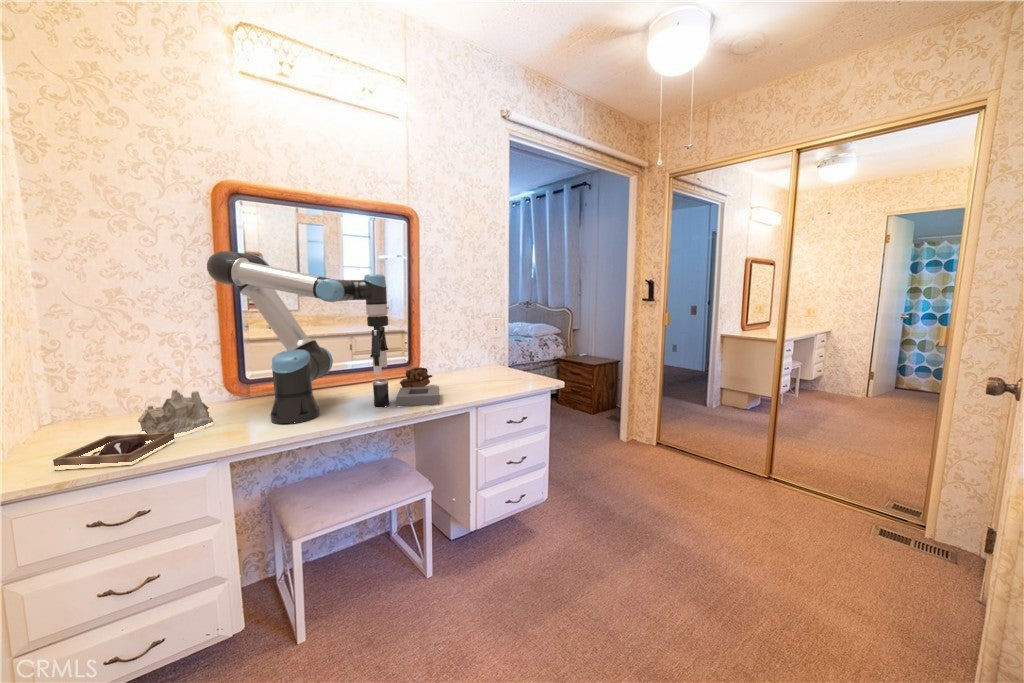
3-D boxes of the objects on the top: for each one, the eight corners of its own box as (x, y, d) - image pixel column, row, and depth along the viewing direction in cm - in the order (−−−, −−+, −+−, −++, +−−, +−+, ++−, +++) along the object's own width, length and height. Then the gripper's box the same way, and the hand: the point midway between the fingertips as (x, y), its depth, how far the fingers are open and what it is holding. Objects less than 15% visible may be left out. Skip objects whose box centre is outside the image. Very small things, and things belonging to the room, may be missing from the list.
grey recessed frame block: (396, 407, 148) (396, 397, 148) (400, 397, 162) (400, 387, 162) (438, 404, 151) (438, 395, 150) (439, 395, 165) (439, 386, 164)
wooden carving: (405, 393, 167) (404, 371, 166) (399, 392, 170) (398, 370, 168) (434, 386, 180) (434, 365, 179) (428, 384, 183) (427, 364, 181)
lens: (372, 408, 147) (371, 382, 146) (375, 403, 153) (373, 379, 151) (388, 407, 148) (387, 382, 147) (390, 403, 154) (389, 378, 152)
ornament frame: (54, 470, 97) (52, 459, 96) (109, 445, 112) (107, 435, 112) (132, 465, 100) (130, 454, 99) (174, 441, 115) (173, 432, 115)
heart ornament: (110, 476, 100) (83, 451, 101) (158, 463, 112) (133, 440, 113) (123, 456, 100) (96, 431, 101) (170, 445, 112) (145, 423, 113)
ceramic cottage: (222, 423, 131) (213, 380, 128) (168, 443, 115) (157, 395, 113) (189, 421, 135) (180, 380, 133) (133, 440, 120) (121, 394, 117)
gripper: (382, 317, 134) (386, 377, 137) (392, 313, 158) (395, 363, 161) (359, 318, 133) (364, 378, 136) (373, 313, 157) (376, 364, 160)
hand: (380, 370), depth 148 cm, fingers open, 13 cm apart
